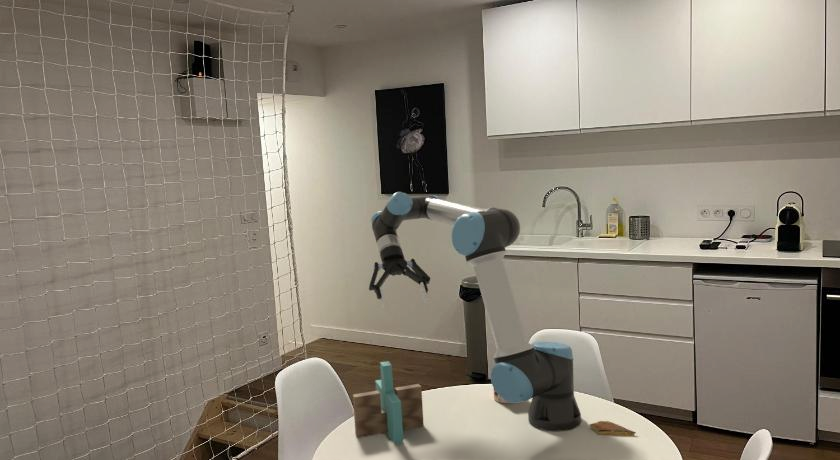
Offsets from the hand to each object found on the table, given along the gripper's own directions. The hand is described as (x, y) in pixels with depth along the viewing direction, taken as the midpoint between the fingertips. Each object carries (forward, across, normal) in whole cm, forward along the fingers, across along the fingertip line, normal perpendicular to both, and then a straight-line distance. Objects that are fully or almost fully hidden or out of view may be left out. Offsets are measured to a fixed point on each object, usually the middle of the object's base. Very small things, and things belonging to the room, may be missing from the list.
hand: (405, 303), depth 197 cm
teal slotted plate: (+34, +11, -14) cm, 38 cm away
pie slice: (+53, -47, +4) cm, 70 cm away
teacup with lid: (+30, -30, -18) cm, 46 cm away
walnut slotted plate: (+34, +11, -14) cm, 38 cm away
